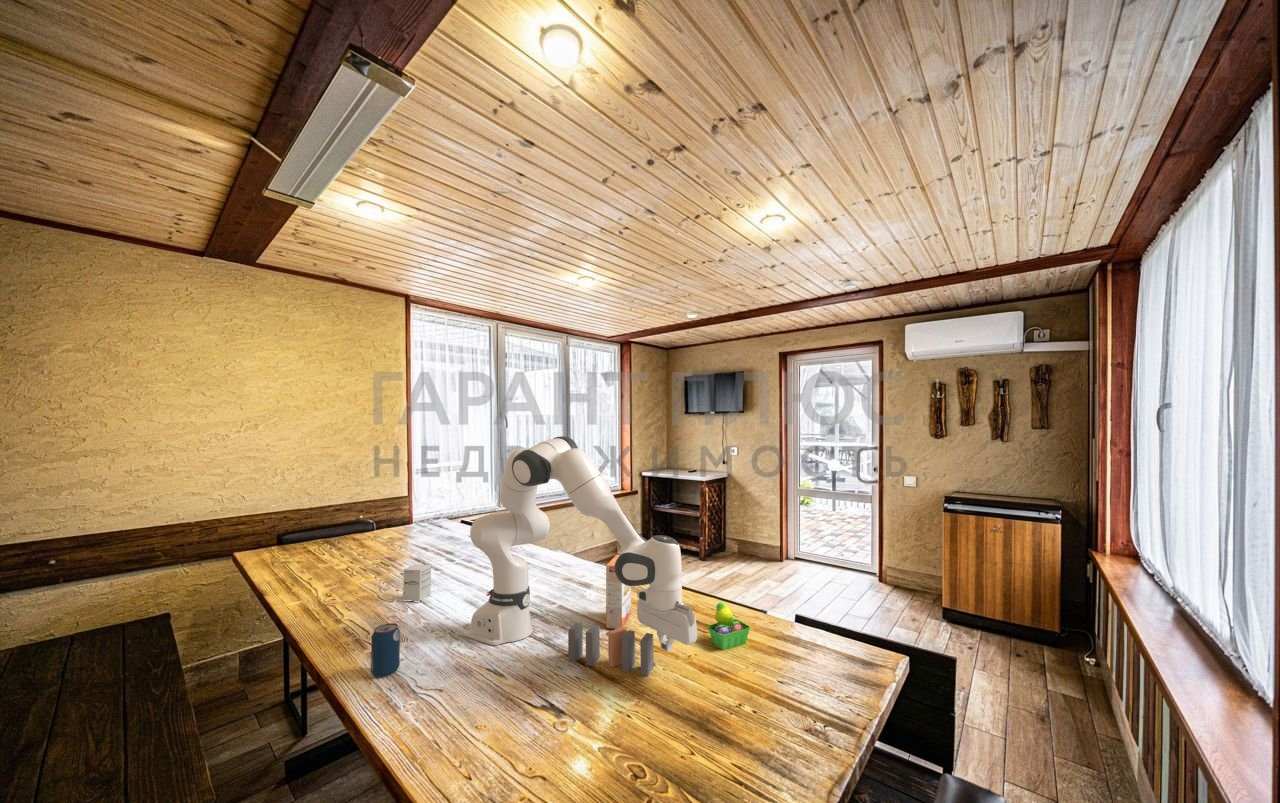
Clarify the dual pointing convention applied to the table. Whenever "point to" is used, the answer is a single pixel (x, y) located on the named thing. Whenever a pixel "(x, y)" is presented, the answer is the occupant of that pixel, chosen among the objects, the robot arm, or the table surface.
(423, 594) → the supplement box
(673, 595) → the robot arm
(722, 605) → the fruit basket
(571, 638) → the domino
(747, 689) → the table surface
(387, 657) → the soda can
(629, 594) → the cracker box
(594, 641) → the domino
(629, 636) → the domino
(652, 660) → the domino end
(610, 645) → the domino
